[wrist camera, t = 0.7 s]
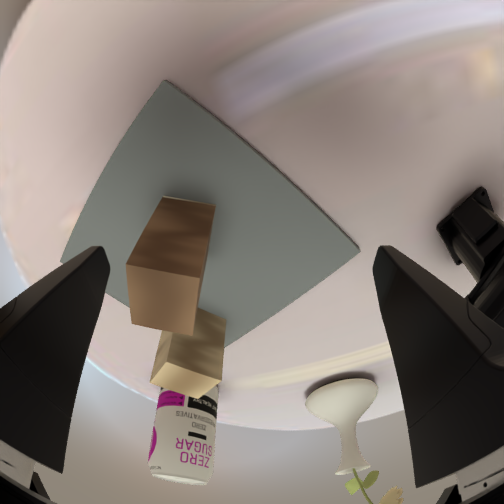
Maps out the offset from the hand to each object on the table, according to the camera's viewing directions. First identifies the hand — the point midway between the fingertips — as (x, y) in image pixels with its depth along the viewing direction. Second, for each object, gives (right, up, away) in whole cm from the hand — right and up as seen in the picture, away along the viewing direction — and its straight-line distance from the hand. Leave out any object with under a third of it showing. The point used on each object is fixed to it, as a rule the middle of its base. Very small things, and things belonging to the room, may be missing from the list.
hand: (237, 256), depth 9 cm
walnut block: (-5, +2, +13) cm, 14 cm away
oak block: (-6, -7, +20) cm, 22 cm away
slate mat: (-5, 0, +16) cm, 16 cm away
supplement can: (-8, -19, +30) cm, 36 cm away
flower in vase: (+14, -20, +31) cm, 39 cm away
